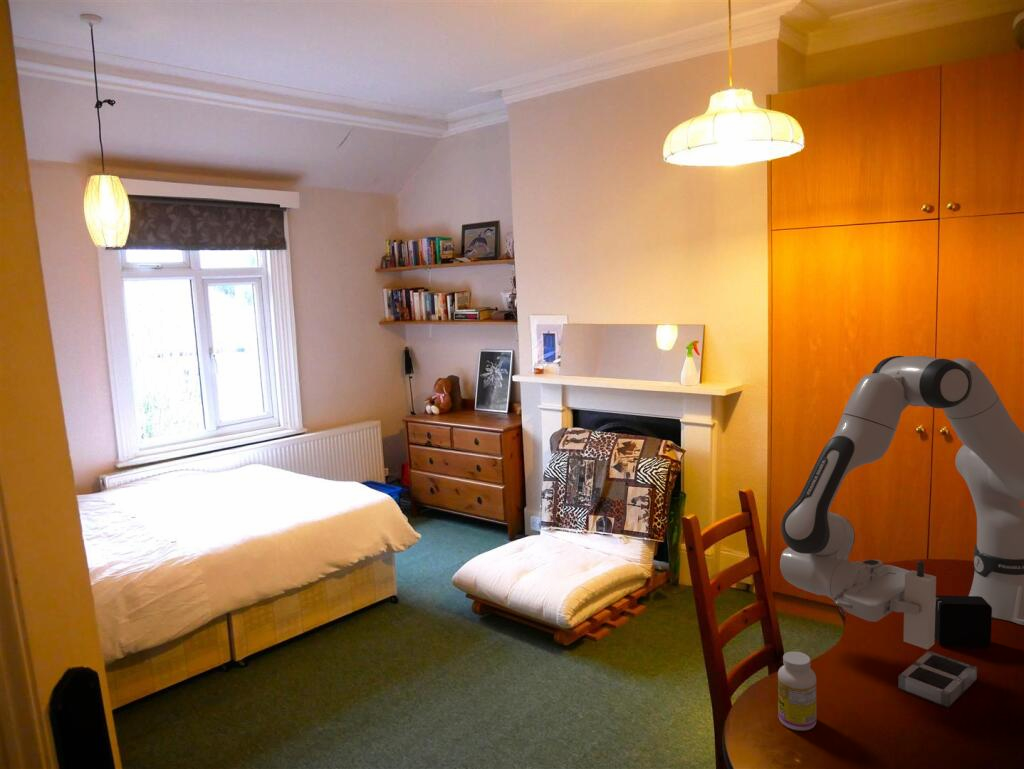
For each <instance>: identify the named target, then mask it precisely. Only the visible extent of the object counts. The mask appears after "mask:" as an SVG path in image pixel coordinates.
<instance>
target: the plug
mask: <svg viewBox="0 0 1024 769" xmlns="http://www.w3.org/2000/svg"><path fill="white" fill-rule="evenodd" d="M909 571H910V572H908V573H907V574H905V592H904V602H909V603H910V602H915V603H919V604H920V605H921V612H919V613H918V614H917V615H915V614H912V613H909V612H908V613H907V612H903V642H904V643H907V644H909V645H913V646H916V647H919V648H921V649H925V650H928V651H929V649H930V648H932V647H933V646H934V645H935V640H936V639H935V604H936V596H937V595H936V594H937V576H935V575H932V574H928V573H925V563H924V561H922V560H918V561H917V562H916V570H913V569H911V570H909Z"/></svg>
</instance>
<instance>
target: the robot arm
mask: <svg viewBox="0 0 1024 769" xmlns="http://www.w3.org/2000/svg"><path fill="white" fill-rule="evenodd" d="M908 406H911V407H924V408H925V407H926V408H934V409H942V410H943V413H944V414H945V417H946V418H947V420H948V421H949V424H950V425H951V427H952V429H953V430H954V432H955V435H957V437H958V439H959V441H960V442H961V443H962V445H961V447H960V448H959V449H958V451H957V453H956V454H955V455H956V456H955V461H954V462H955V467H956V470H957V472H958V473H959V474H960V475H961V477H962V478H963V480H964V481H965V483H966V485H967V487H968V489H969V492H970V494H971V495H970V496H971V498H972V501H973V505H974V509H975V514H976V545H975V546H974V551H973V552H974V553H973V567H974V574H973V579H972V584H971V587H970V591H969V594H968V596H980V597H982V598H983V599H984V600H985V601H986V602H987V603H988V604H989V605H990V606H991V607H992V618H994V619H998V620H1004V621H1008V622H1013V623H1016V624H1018V625H1021V626H1024V505H1023V503H1022V502H1024V432H1023V430H1021V429H1020V428H1019V426H1018V425H1017V424H1016V422H1014V420H1013V418H1012V417H1011V415H1010V414H1009V412H1008V409H1007V408H1006V407H1005V405H1004V403H1003V400H1002V399H1001V398H1000V396H999V394H998V392H997V391H996V389H995V386H993V384H992V382H991V381H990V380H989V378H988V377H987V376H986V374H985V373H984V372H983V370H982V369H981V368H980V367H979V366H978V365H977V364H976V363H975V362H974V361H972V360H971V359H967V358H959V357H958V358H953V359H948V358H937V357H933V356H932V357H931V356H925V355H916V356H915V355H914V356H911V355H910V356H909V355H908V356H904V355H893V356H890V357H886V358H884V359H882V360H881V361H879V363H878V364H877V365H875V367H874V368H873V370H872V372H871V373H868V374H865V375H863V376H862V377H861V379H860V380H859V381H858V382H857V384H856V386H855V388H854V389H853V391H852V393H851V394H850V396H849V399H848V401H847V402H846V404H845V407H844V409H843V413H842V415H841V417H840V419H839V422H838V425H837V426H836V429H835V431H834V433H833V434H832V436H831V437H830V439H829V440H828V442H827V443H826V444H825V445H824V448H823V449H822V450H821V452H820V454H819V456H818V458H817V459H816V461H815V464H814V466H813V468H812V471H811V472H810V473H809V476H808V478H807V480H806V482H805V484H804V487H803V488H802V491H801V493H800V494H799V496H798V498H797V499H796V501H794V503H793V504H792V505H791V506H790V507H789V508H788V510H786V512H785V513H784V515H783V517H782V519H781V524H780V531H781V535H782V539H783V540H784V543H785V544H786V546H788V547H787V548H785V549H784V550H783V551H782V553H781V555H780V560H779V568H780V572H781V575H782V577H783V578H784V580H785V581H787V582H788V583H789V584H791V585H792V586H794V587H796V588H798V589H800V590H803V591H805V592H807V593H808V592H809V593H811V594H814V595H817V596H826V597H829V598H830V599H831V600H833V602H834V603H835V605H837V606H839V607H842V608H843V610H844V611H845V612H847V613H849V614H850V615H853V616H854V617H857V618H859V619H862V620H865V621H868V622H874V623H876V622H878V621H880V620H881V619H883V618H885V617H886V616H887V615H889V614H890V613H892V612H895V613H904V612H907V613H908V612H909V613H912V614H915V615H917V614H918V613H919V612H921V605H920V604H919V603H915V602H910V603H909V602H904V592H905V574H907V573H908V572H910V571H911V570H908V569H905V568H903V567H902V568H901V567H898V566H894V565H891V564H883V562H882V561H881V560H878V559H874V558H873V559H868V560H862V561H856V560H855V561H849V558H850V555H851V553H852V550H853V547H854V543H855V540H856V535H855V529H854V526H853V524H852V523H851V521H850V520H848V519H847V518H846V517H845V516H843V515H840V514H838V513H835V512H830V511H831V510H830V509H831V506H832V504H833V502H834V500H835V498H836V495H837V494H838V492H839V491H840V488H841V486H842V484H843V482H844V480H845V479H846V476H848V474H850V472H851V471H852V470H855V469H857V468H858V467H861V466H864V465H868V464H872V463H874V462H877V461H879V460H880V459H881V458H884V456H885V454H886V453H887V451H888V450H889V448H890V446H891V444H892V442H893V440H894V437H895V434H896V432H897V428H898V426H899V423H900V418H901V416H902V413H903V412H904V410H906V408H907V407H908Z"/></svg>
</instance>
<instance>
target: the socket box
mask: <svg viewBox="0 0 1024 769" xmlns="http://www.w3.org/2000/svg"><path fill="white" fill-rule="evenodd" d="M977 673H978V667H977V666H973V665H971V664H969V663H966V662H962V661H959V660H957V659H954V658H951V657H948V656H945V655H943V654H940V653H936V652H934V651H931V650H928V651H926V653H924V654H923V655H922V656H920V657H919V658H918V659H917V660H916V661H915V662H913V663H912V664H911V665H909V667H907V668H905V670H904V671H903V672H902V673H900V674H898V680H897V681H898V682H897V683H898V686H897V687H898V690H900V691H903V692H905V693H908V694H911V695H912V696H915V697H918V698H921V699H922V700H926V701H928V702H931V703H933V704H935V705H938V706H941V707H943V708H946V709H949V708H950V707H951V706H952V705H953V704H954V703H955V702H956V701H957V700H958V699H959V698H960V697H961V696H962V695H963V694H964V693H965V692H966V691H967V690H968V689H969V688H970V687H972V686H973V684H974V683H976V681H977V680H978V679H977V678H978V677H977V676H978V674H977Z"/></svg>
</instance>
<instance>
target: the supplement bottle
mask: <svg viewBox="0 0 1024 769" xmlns="http://www.w3.org/2000/svg"><path fill="white" fill-rule="evenodd" d="M782 660H783V661H782V663H783V665H782V666H780V667H779V669H778V672H777V683H778V684H777V706H778V707H777V709H778V711H777V714H778V719H779V721H780V723H781V724H782V725H784V726H785V727H786V728H788V729H792V730H794V731H799V732H800V731H802V732H803V731H809V730H812V729H813V728H814V727H815V725H816V724H817V676H816V673H815V672H814V670H813V669H811V665H812V664H811V657H810V656H809V655H807V654H806V653H804V652H801V651H788V652H785V653H784V654H783V656H782Z"/></svg>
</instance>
